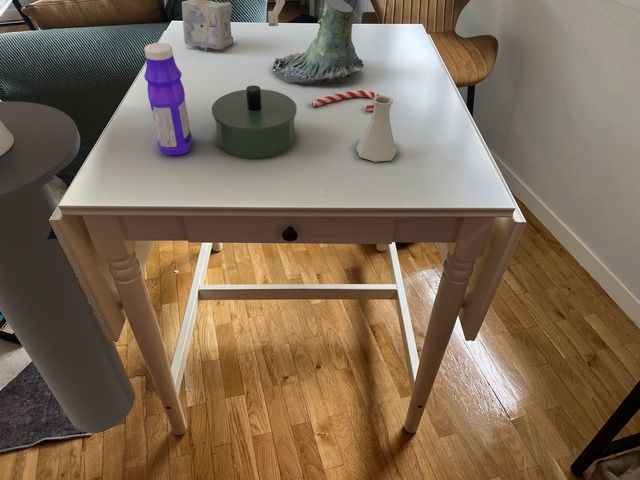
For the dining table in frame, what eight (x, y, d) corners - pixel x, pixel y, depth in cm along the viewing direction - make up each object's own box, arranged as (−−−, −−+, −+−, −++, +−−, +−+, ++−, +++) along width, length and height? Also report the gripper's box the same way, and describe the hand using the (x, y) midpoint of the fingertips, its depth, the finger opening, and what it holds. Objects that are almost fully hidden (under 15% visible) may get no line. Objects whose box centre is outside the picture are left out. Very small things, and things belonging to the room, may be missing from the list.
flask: (354, 160, 84) (359, 107, 77) (357, 139, 89) (362, 87, 82) (396, 165, 83) (404, 111, 77) (396, 143, 89) (405, 91, 82)
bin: (217, 160, 82) (213, 131, 79) (219, 121, 92) (216, 94, 89) (296, 157, 84) (297, 129, 80) (290, 119, 94) (290, 92, 90)
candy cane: (308, 93, 99) (377, 87, 103) (308, 99, 100) (376, 93, 103) (317, 111, 94) (390, 104, 97) (317, 117, 95) (389, 110, 98)
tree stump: (289, 51, 120) (308, -26, 108) (362, 83, 119) (390, 10, 107) (258, 76, 106) (276, -8, 94) (341, 113, 105) (370, 32, 93)
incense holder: (235, 42, 122) (232, -2, 115) (221, 54, 116) (217, 8, 109) (199, 37, 124) (194, -7, 117) (184, 48, 118) (177, 3, 111)
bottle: (160, 137, 87) (140, 38, 76) (193, 135, 88) (177, 37, 76) (158, 159, 82) (135, 57, 70) (192, 157, 83) (176, 55, 71)
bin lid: (210, 136, 79) (207, 110, 76) (214, 95, 89) (211, 71, 86) (300, 133, 80) (300, 107, 77) (293, 94, 91) (292, 69, 88)
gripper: (152, -76, 62) (172, 34, 72) (310, -76, 64) (309, 31, 74) (158, -85, 67) (175, 19, 76) (305, -84, 69) (305, 17, 78)
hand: (242, 25), depth 75 cm, fingers open, 8 cm apart
